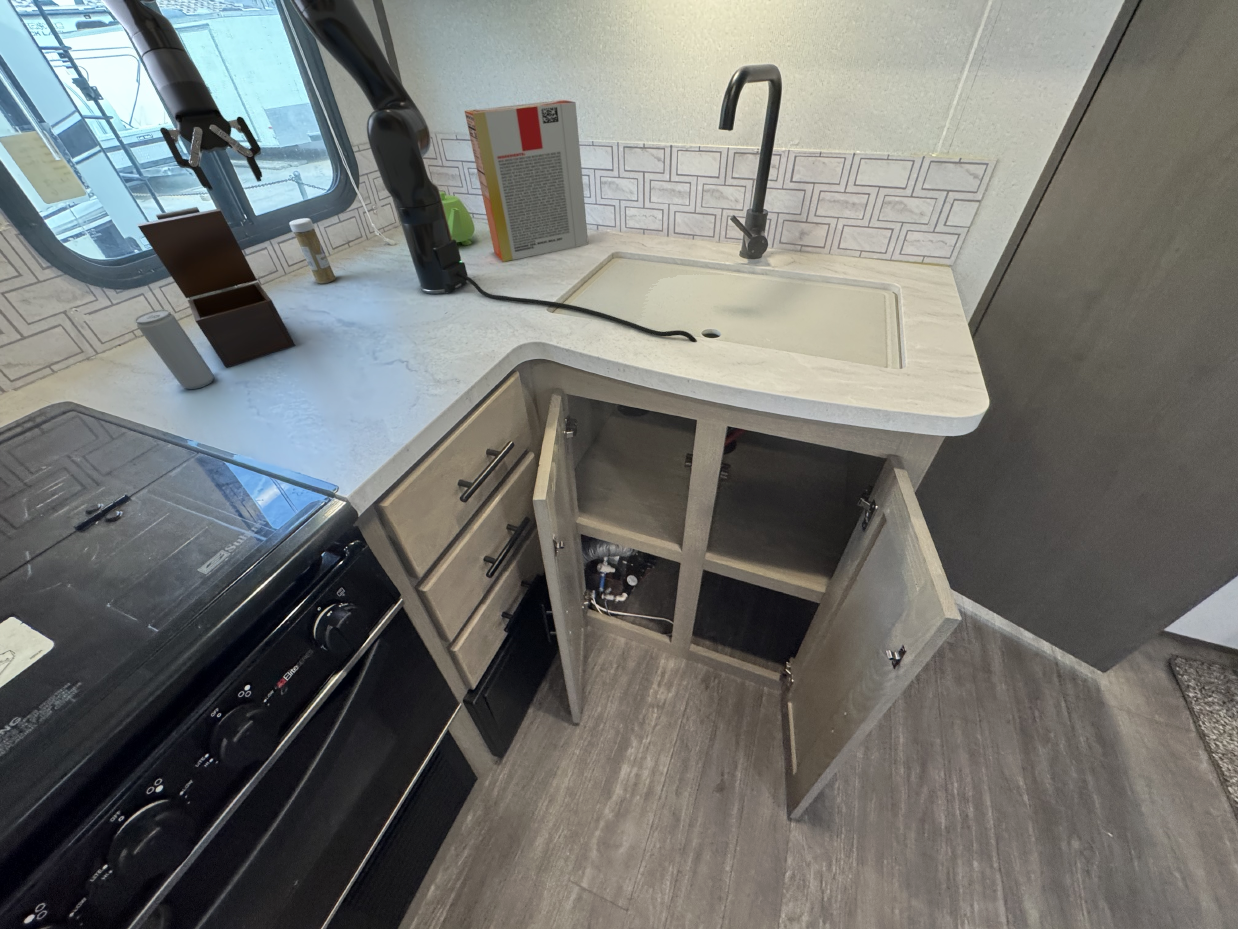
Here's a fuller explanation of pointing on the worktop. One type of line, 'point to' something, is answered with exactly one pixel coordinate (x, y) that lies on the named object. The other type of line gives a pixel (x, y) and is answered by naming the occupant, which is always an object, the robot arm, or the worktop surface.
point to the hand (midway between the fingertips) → (235, 185)
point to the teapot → (458, 219)
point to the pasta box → (530, 177)
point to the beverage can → (175, 348)
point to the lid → (198, 250)
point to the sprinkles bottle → (312, 250)
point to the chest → (241, 323)
